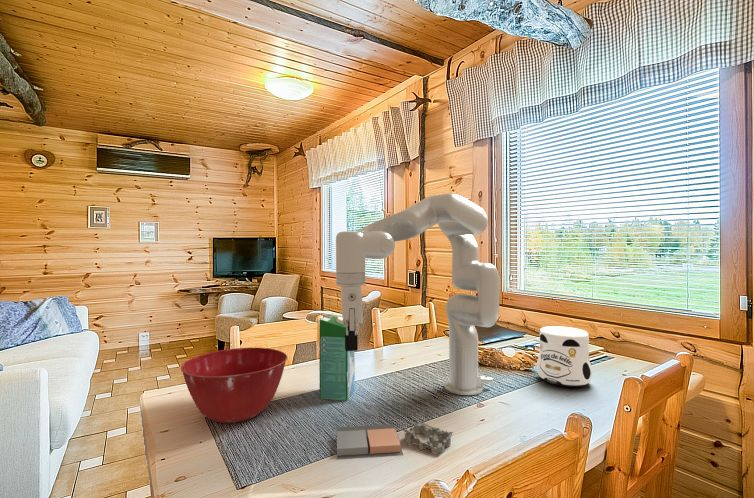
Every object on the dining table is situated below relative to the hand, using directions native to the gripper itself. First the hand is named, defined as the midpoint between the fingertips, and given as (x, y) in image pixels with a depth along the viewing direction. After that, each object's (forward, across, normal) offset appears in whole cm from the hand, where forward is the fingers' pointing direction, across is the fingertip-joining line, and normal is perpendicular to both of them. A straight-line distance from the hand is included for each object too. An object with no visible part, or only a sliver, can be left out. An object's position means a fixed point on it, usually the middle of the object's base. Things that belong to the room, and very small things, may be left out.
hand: (351, 349), depth 99 cm
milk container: (+22, +26, -76) cm, 83 cm away
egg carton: (+22, -9, -18) cm, 29 cm away
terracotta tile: (+20, -5, -7) cm, 21 cm away
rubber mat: (+21, -6, -4) cm, 22 cm away
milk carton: (+21, +25, +3) cm, 33 cm away
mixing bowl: (+21, +15, +32) cm, 41 cm away
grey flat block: (+20, -5, 0) cm, 20 cm away
